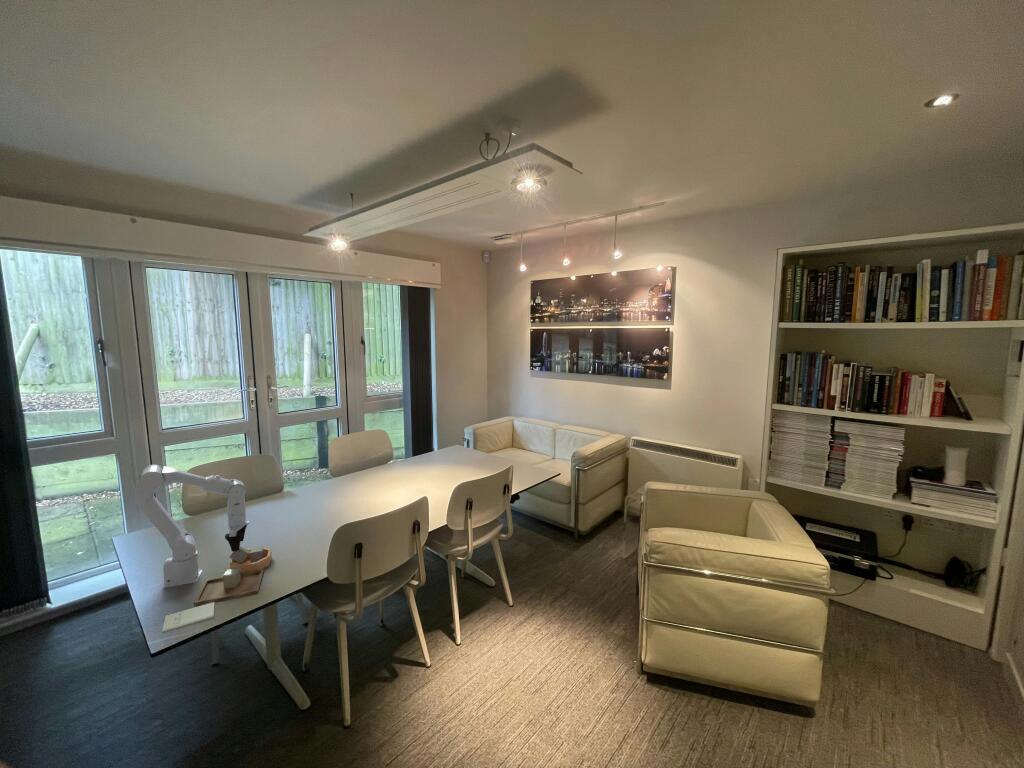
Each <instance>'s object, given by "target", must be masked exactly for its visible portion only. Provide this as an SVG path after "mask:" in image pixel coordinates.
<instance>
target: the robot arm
mask: <svg viewBox="0 0 1024 768" xmlns="http://www.w3.org/2000/svg"><path fill="white" fill-rule="evenodd" d="M173 483H174V484H175V483H180V484H185V485H190V486H191V485H192V486H197V487H201V488H202V489H203V491H204V492H209V493H213V494H216V495H222V496H227V502H226V506H227V507H226V509H227V526H226V527H227V530H228V532H229V533H226V534H225V535H224V539H225V541H227V542H228V544H229V547H230V550H231V551H232V553H233V552H234V551H239V548H240V547H241V542H243V541H244V540H245V535H246V530H247V528H248V527H247V526H248V525H249V524H250V520H247V515H246V514H247V513H246V512H247V511H246V510H247V509H246V499H245V498H246V492H247V490H246V487H245V484H244V482H243V480H240V479H237V478H236V479H233V478H230V479H228V478H224V477H221V475H220V474H216V475H209V476H206V477H205V476H202V475H197V474H194V473H190V472H188V471H187V472H186V471H183V470H181V469H177V468H174V467H170V466H165V465H164V466H162V465H159V464H150V465H147V466H146V467H144V468H143V469H142V471H140V474H139V476H138V478H137V482H136V483H135V490H134V498H133V501H134V503H135V505H137V507H138V508H139V510H141V512H142V513H143V514H144V516H146V518H147V519H149V521H150V522H151V524H152V525H153V526H154V527H155V529H157V530H158V531H159V532H160V534H161V535H162V536H163V537H164V539H166V542H167V544H168V547H169V548H170V549H171V551H172V556H171V557H167V558H166V559H165V561H164V563H163V568H162V569H163V589H164V588H171V587H176V586H181V585H188V584H193V583H197V582H198V580H199V579H200V577H201V574H202V573H203V569H199V556H198V555H199V554H198V550H197V548H196V540H197V539H196V536H195V535H194V534H192V533H189V532H188V531H186V530H185V529H184V528H182V527H181V526H180V525H179V524H178V522H177V521H176V520H175V519H174V517H173V516H172V515H171V514H170V513H169V512H168V510H167V509H166V508H165V507H164V505H162V503H161V502H160V501H159V500H158V498H157V497H156V496H155V494H156V493H157V490H158V489H160V487H161V486H162V485H163V484H164V486H169V485H171V484H173Z"/></svg>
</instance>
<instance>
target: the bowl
mask: <svg viewBox="0 0 1024 768" xmlns="http://www.w3.org/2000/svg"><path fill="white" fill-rule="evenodd" d="M258 547H259V546H258ZM258 547H256V548H258ZM252 548H253V547H251V548H245V549H246V550H248V551H250V552H251V549H252ZM272 558H273V557H272V549H270V548H268V547H264V558H263V559H261V560H259V561H257V562H254V563H251V562H250V554H249V555H248V556H247V558H246V559H245V560H244V562H243V563H242V564H241V563H239V562H237V561H235V560H233V559H231V558H230V562H229V569H240V574H241V573H247V572H253V571H258V570H264V569H265V568H267V567H268V566H270V565H271V561H272Z"/></svg>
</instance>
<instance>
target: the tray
mask: <svg viewBox="0 0 1024 768" xmlns="http://www.w3.org/2000/svg"><path fill="white" fill-rule="evenodd" d="M264 573H265V571H264V569H262V570H258V571H253V572H247V573H241V574H240V575H241V582H240V583H239V585H238V586H237V587H236V588H224V586H223V576H219V577H214V578H207V579H205V580H204V582H203V584H202V586H201V588H200V589H199V592H198V594H197V596H196V598H195V600H194V602H193V606H197V605H205V604H209V603H212V602H219V601H224V600H229V599H234V598H239V597H243V596H244V597H245V596H250V595H255V594H258V593H259V591H260V587H261V584H262V579H263V576H264Z"/></svg>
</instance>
